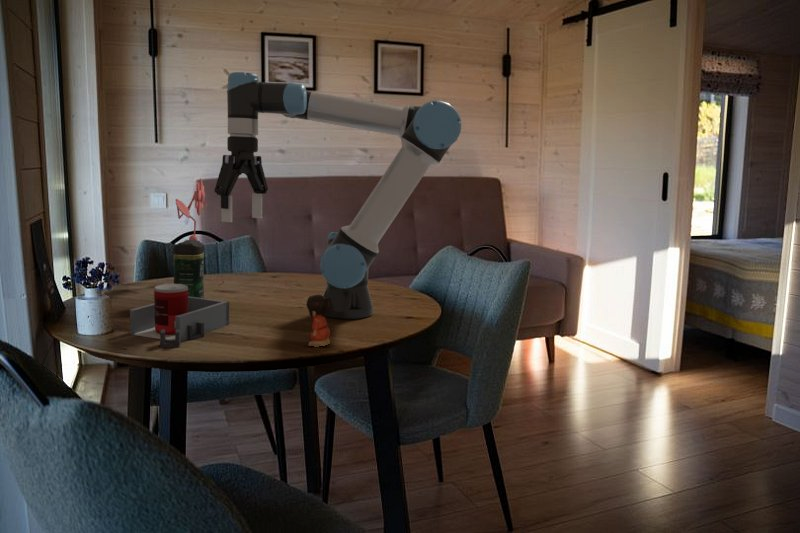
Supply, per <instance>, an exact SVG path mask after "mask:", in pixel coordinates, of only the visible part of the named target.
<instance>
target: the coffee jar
mask: <svg viewBox="0 0 800 533" xmlns="http://www.w3.org/2000/svg"><path fill="white" fill-rule="evenodd" d="M204 247H205V245H204V243H202V242H201V241H200V240H198V239H197V240H189V239H185V240H184V241H182V242H178V243H177V244H175V245H173V284H183V285H186V286H188V296H190V297H198V298H205V286H204V283H205V280H204V277H205V276H204V272H205V271H204V270H205V269H204V267H205V266H204V265H205V264H204V262H205V261H204V258H205V250H204Z"/></svg>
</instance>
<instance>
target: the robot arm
mask: <svg viewBox="0 0 800 533" xmlns="http://www.w3.org/2000/svg"><path fill="white" fill-rule="evenodd" d="M226 95H227V97H226V98H227V99H226V100H227V134H228V135H229V136H228V137H227V151H228V152H230V154H222V163H221V167H220V171H219V174H218V177H217V181H216V183H215V187H214V193H216V195H217V196H220V208H221V210H220V214H221V222H222V223H224V222H225V223H233V195H231V193H232V191H233V189H234V187H235V185H236V183H237V181H238V179H239V178H240V176H241V175H243V174H244V175H246V178H247V180H248V182H249V184H250V186H251V188H252V190H253V193H251V218H252V219H263V204H264V203H263V200H264V198H263V197H264V194H265V195H266V194H267V192H268V190H269V187H268V183H267V179H266V176H265V171H264V168H263V165H262V164H263V163H262V162H263V161H262V156H261V155H255V153H258V150H259V139H258V137H257V136H258V135H259V113H261V114H277V115H278V114H279V115H282V116H284V117H286V118H289V119H299V120H305V121H312V122H318V123H324V124H328V125H334V126H341V127H347V128H351V129H357V130H358V129H359V130H362V131H368V132H375V133H381V134H385V135H392V136H397V137H398V138H399V139H400V141H401V148H400V149H399V151H398V152H397V153H396V156H395V157H394V158H393V159H392V161H391V163H390V164H389V166H388V167H387V169H386V170H385V172H384V173H383V174H382V176H381V178H380V180H379V181H378V183H377V184H376V186H375V187H374V188H373V190H372V191H371V193H370V195H369V196H368V197H367V198H366V201H365V202H364V204H363V205H362V206H361V207H360V210H359V211H358V213H357V214H356V215H355V217H354V219H353V220H352V221H351V222H350V224H349V225H345V226H341V227H340V229H339V231H338V232H337V231H332V232H329V233H328V234H327V240H326V243H327V249H325V250H324V251H323V253H322V254H321V257H320V258H321V259H320V261H319V262H320V264H319V266H320V271H321V274H322V277H323V278H324V280H325V281H326V287H325V288H324V289H325V290H324V293H323V295H322V296H324V297H326V298H331V300H332V304H333V305H334V310H333V311H332V313H331V314H329V315H325V316H324V317H328V318H334V319H346V320H347V319H349V320H350V319H354V320H355V319H362V318H368V317H370V316H373V314H374V304H373V300H372V296H371V294H370V289H369V268H370V266H371V265H372V263H373V262H374V260H375V259H376V257H377V256H378V254H379V252H380V250H379V242H381V239H382V238H383V237H384V235H385V234H386V232H387V230H388V229H389V227H390V226H391V225H392V223H393V221H394V220H395V218H396V217H397V216H398V214H399V212H400V211H401V210H402V208H403V207H404V205H405V204H406V202H407V200H408V199H409V197H410V196H411V195H412V193H413V192H414V190H415V189H416V188H417V186H418V184H419V183H420V181H421V180H422V178H423V177H424V175H425V174H426V173H427V171H428V169H429V168H430V167H432V166H435V165H439V164H440V162H441V161H442V159H443V158H444V156H445V155H446V154H447V152H448V150H449V149H450V148H451V146H452V145H454V143H455V142H457V140H458V138H459V137H460V134H461V132H462V120H461V116H460V114H459V112H458V111H457V109H456V108H455V107H454V106H453V105H452V104H450V103H448V102H447V101H443V100H431V101H427V102H425V103H424V104H423V105H421V106H420V105H413V104H407V105H406V106H404V107H400V106H395V105H389V104H385V103H384V104H383V103H377V102H371V101H367V100H366V101H365V100H360V99H354V98H349V97H348V98H347V97H343V96H342V97H341V96H336V95H331V94H325V93H319V92H314V91H308V90H307V88H306V86H305V85H304V84H301V83H294V82H287V83H286V82H264V81H260V80H259V76H258V75H257V73H254V72H253V73H252V72H244V71H240V72H239V71H235V72H230V73H229V74H228V76H227V89H226Z"/></svg>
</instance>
